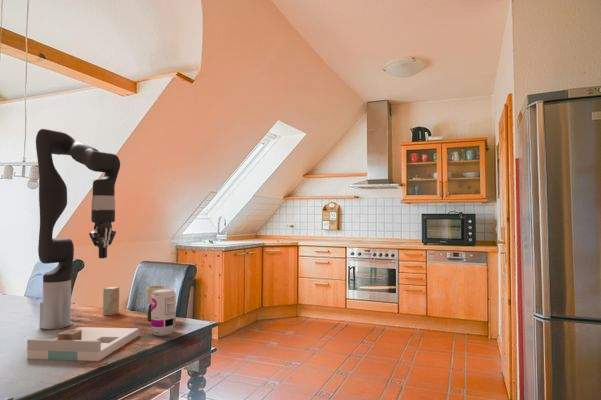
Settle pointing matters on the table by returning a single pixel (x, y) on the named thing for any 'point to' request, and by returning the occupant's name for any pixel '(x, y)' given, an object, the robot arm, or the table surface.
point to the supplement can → (163, 312)
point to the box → (111, 301)
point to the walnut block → (70, 335)
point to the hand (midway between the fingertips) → (102, 258)
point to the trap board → (82, 344)
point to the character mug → (148, 296)
